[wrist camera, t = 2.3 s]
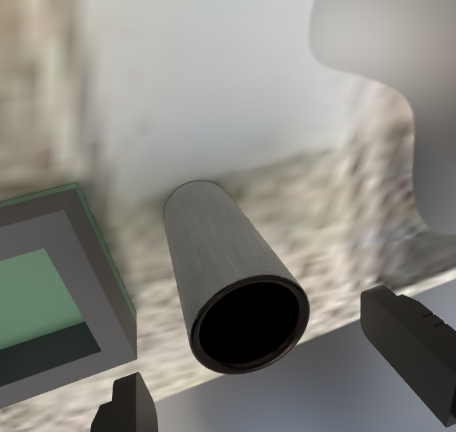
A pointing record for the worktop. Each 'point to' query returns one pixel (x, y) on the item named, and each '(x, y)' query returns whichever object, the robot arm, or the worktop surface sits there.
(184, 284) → the dark grey cylinder
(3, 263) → the socket board
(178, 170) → the worktop surface
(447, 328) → the robot arm
